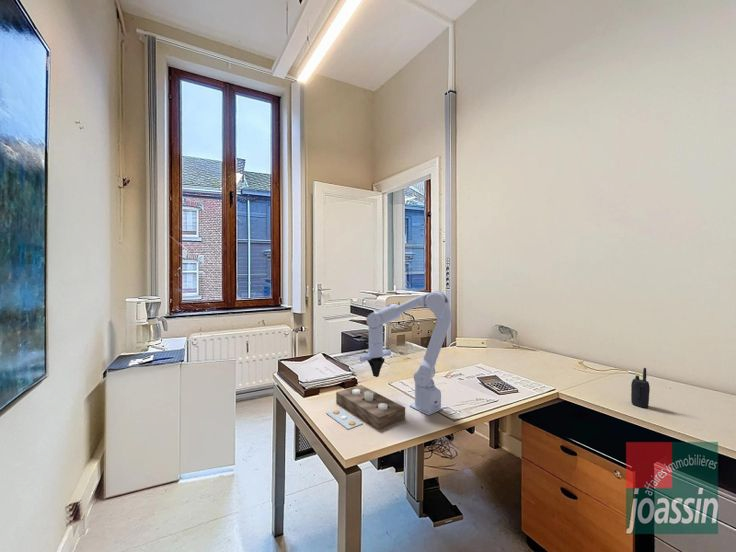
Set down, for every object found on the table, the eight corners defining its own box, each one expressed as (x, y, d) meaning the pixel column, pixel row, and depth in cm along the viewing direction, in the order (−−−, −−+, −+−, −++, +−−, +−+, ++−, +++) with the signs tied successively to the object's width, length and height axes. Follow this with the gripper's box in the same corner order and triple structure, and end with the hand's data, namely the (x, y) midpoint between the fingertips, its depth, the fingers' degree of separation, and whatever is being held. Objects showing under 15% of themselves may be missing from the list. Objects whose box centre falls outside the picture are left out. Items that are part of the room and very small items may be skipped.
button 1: (361, 401, 124) (362, 390, 124) (355, 403, 122) (355, 392, 122) (357, 398, 127) (357, 388, 127) (350, 400, 125) (350, 390, 125)
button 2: (389, 416, 112) (389, 405, 111) (382, 419, 110) (382, 407, 109) (383, 413, 114) (383, 402, 114) (376, 415, 112) (376, 404, 112)
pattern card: (362, 424, 108) (362, 422, 108) (348, 429, 104) (348, 428, 104) (340, 409, 119) (340, 407, 119) (326, 413, 115) (326, 412, 115)
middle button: (374, 403, 118) (374, 392, 118) (368, 406, 116) (368, 395, 116) (369, 400, 120) (369, 390, 120) (362, 402, 118) (362, 392, 118)
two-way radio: (650, 407, 121) (652, 368, 120) (645, 410, 118) (646, 370, 118) (632, 402, 125) (634, 364, 125) (627, 404, 123) (628, 366, 123)
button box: (405, 418, 112) (405, 407, 111) (378, 429, 104) (378, 417, 104) (361, 394, 132) (361, 384, 132) (336, 402, 125) (336, 392, 125)
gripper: (382, 337, 135) (383, 369, 135) (355, 343, 126) (355, 377, 126) (394, 340, 129) (394, 374, 130) (366, 346, 120) (366, 382, 121)
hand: (375, 376), depth 127 cm, fingers closed
